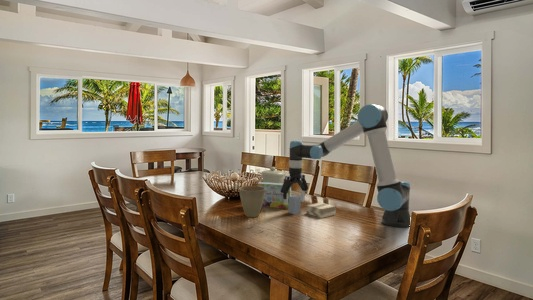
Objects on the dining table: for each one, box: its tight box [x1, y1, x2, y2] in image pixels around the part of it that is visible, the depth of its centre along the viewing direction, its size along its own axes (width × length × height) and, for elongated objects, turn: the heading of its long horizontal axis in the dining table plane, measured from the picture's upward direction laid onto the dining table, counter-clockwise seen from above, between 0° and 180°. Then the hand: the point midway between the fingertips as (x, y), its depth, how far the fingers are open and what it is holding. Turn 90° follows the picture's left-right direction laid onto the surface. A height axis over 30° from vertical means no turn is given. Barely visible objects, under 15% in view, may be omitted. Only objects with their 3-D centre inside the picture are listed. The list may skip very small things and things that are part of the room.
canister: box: [260, 166, 286, 183], centre depth 251 cm, size 18×18×21 cm
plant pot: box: [238, 185, 265, 218], centre depth 196 cm, size 15×15×16 cm
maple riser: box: [306, 201, 337, 219], centre depth 202 cm, size 12×12×5 cm
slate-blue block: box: [288, 194, 302, 215], centre depth 203 cm, size 5×5×10 cm
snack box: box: [256, 181, 292, 210], centre depth 218 cm, size 21×6×15 cm, turn 76°
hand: (294, 202), depth 203 cm, fingers open, 13 cm apart
